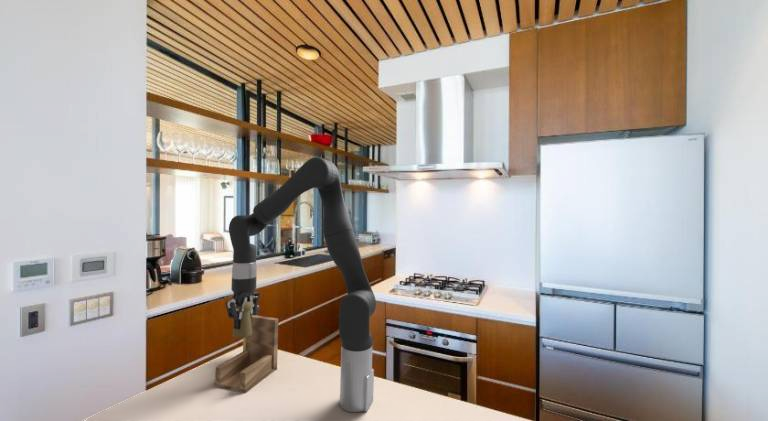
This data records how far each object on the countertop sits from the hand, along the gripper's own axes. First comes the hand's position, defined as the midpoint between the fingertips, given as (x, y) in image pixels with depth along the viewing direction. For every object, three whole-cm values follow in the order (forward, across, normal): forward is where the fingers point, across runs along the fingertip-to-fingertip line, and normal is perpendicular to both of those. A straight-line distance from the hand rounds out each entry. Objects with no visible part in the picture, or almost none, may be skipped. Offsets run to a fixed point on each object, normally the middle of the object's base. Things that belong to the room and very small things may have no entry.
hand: (242, 327), depth 105 cm
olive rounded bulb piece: (+2, 0, 0) cm, 2 cm away
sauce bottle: (+18, +15, +8) cm, 25 cm away
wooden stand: (+18, +3, 0) cm, 18 cm away
